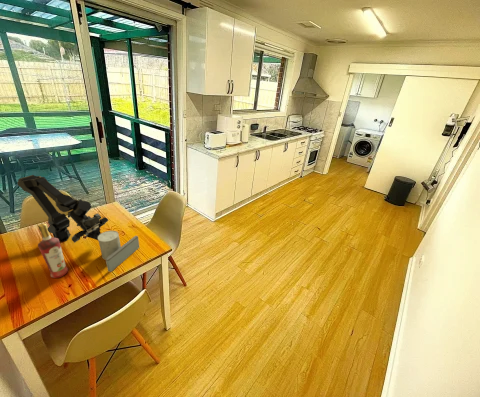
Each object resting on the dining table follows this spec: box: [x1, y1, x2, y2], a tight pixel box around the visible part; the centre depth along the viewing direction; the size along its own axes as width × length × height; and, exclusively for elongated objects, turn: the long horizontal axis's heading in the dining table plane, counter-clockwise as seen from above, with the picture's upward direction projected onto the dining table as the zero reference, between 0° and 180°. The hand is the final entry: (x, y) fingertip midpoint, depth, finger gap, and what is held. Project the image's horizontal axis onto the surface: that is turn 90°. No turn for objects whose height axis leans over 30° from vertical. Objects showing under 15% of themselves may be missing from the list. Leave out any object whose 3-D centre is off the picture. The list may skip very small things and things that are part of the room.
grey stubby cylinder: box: [97, 230, 122, 261], centre depth 119 cm, size 10×10×12 cm
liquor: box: [37, 223, 69, 279], centre depth 101 cm, size 7×7×28 cm
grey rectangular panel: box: [105, 235, 140, 273], centre depth 118 cm, size 2×21×8 cm, turn 163°
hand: (102, 241), depth 120 cm, fingers closed, pressing on grey stubby cylinder
